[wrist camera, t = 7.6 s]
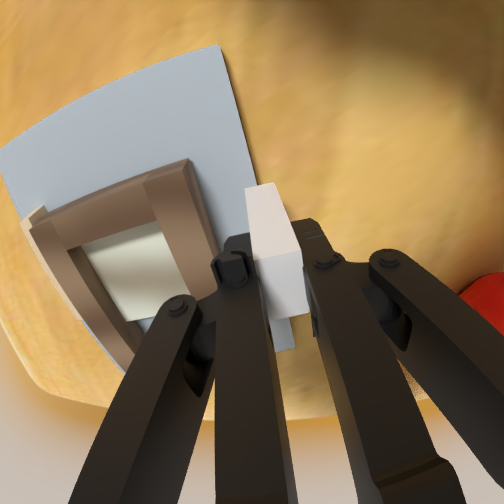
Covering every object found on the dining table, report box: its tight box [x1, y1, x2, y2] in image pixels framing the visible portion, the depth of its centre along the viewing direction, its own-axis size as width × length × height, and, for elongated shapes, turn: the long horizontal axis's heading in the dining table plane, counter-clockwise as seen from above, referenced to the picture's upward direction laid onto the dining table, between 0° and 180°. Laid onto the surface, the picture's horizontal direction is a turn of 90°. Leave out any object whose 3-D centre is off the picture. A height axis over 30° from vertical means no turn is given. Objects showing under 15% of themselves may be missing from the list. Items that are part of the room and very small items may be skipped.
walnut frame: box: [29, 158, 221, 373], centre depth 18 cm, size 14×10×2 cm
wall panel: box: [0, 44, 296, 375], centre depth 17 cm, size 22×16×5 cm
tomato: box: [459, 272, 504, 336], centre depth 22 cm, size 14×13×9 cm
